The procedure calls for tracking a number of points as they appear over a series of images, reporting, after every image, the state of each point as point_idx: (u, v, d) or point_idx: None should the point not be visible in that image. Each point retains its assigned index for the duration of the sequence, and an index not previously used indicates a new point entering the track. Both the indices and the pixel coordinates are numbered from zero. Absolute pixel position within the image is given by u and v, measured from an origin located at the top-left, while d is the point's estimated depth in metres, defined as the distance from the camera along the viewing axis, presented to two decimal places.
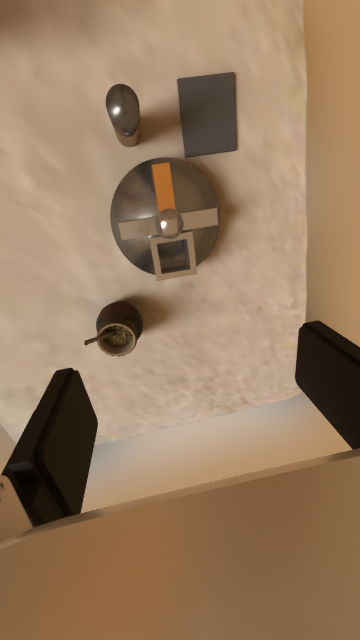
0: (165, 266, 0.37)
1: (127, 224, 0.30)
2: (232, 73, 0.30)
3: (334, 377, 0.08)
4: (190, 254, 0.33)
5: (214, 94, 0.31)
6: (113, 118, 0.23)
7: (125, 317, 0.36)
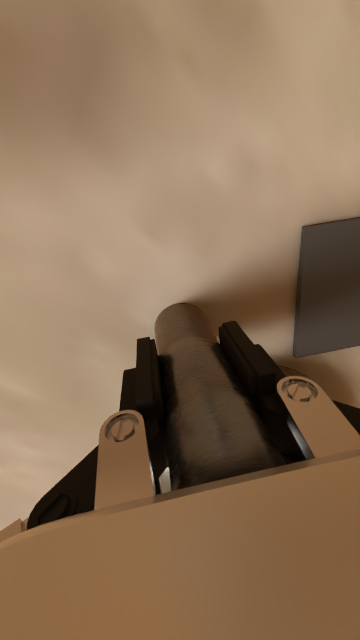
0: None
1: None
2: None
3: (236, 372, 0.09)
4: None
5: None
6: None
7: None
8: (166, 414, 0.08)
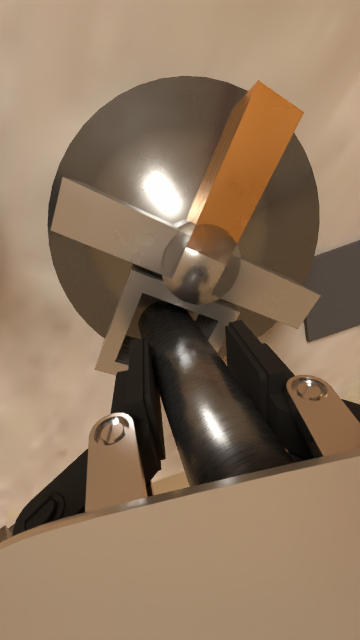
0: (82, 269, 0.14)
1: (89, 198, 0.09)
2: None
3: (243, 371, 0.09)
4: None
5: None
6: None
7: None
8: (178, 416, 0.08)
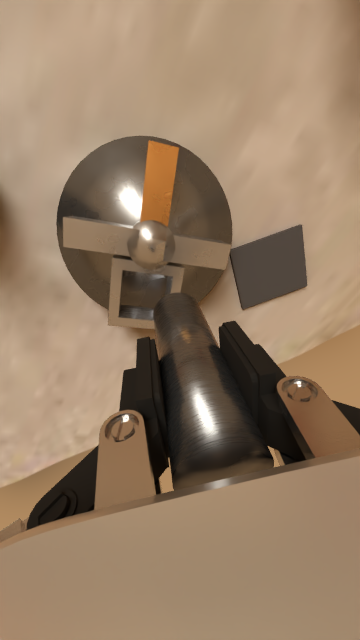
0: (78, 250, 0.21)
1: (79, 223, 0.17)
2: (306, 284, 0.29)
3: (236, 372, 0.09)
4: None
5: (289, 270, 0.28)
6: None
7: None
8: (168, 382, 0.09)
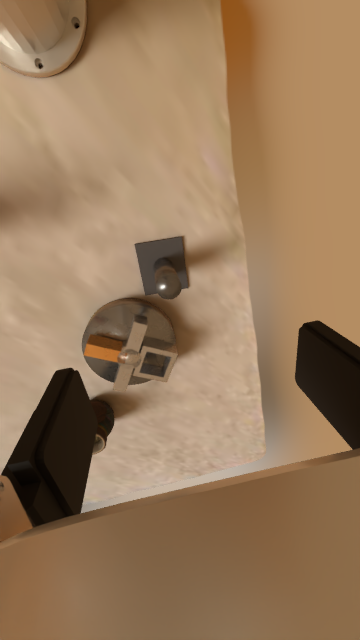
0: (131, 378, 0.43)
1: (116, 384, 0.39)
2: (180, 237, 0.37)
3: (334, 377, 0.08)
4: (160, 353, 0.38)
5: (166, 252, 0.38)
6: (159, 293, 0.30)
7: None
8: (157, 273, 0.32)
